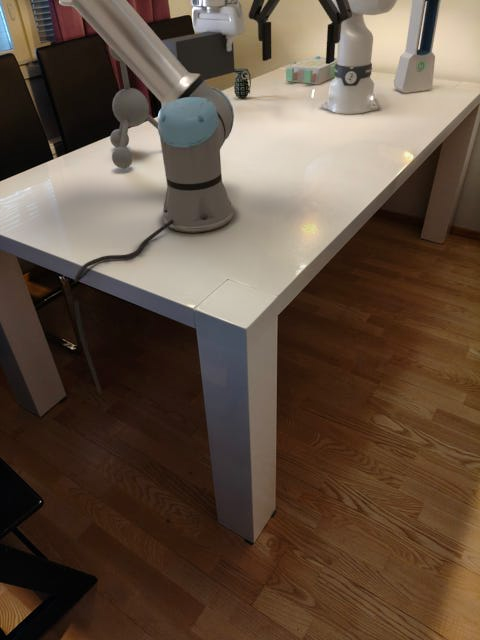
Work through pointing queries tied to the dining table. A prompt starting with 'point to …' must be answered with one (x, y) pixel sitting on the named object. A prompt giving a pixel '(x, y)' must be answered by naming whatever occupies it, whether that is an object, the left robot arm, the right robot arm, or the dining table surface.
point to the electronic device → (419, 63)
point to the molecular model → (127, 116)
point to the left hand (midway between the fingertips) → (297, 61)
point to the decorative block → (311, 71)
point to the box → (203, 53)
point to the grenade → (242, 83)
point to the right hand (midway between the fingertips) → (219, 49)
